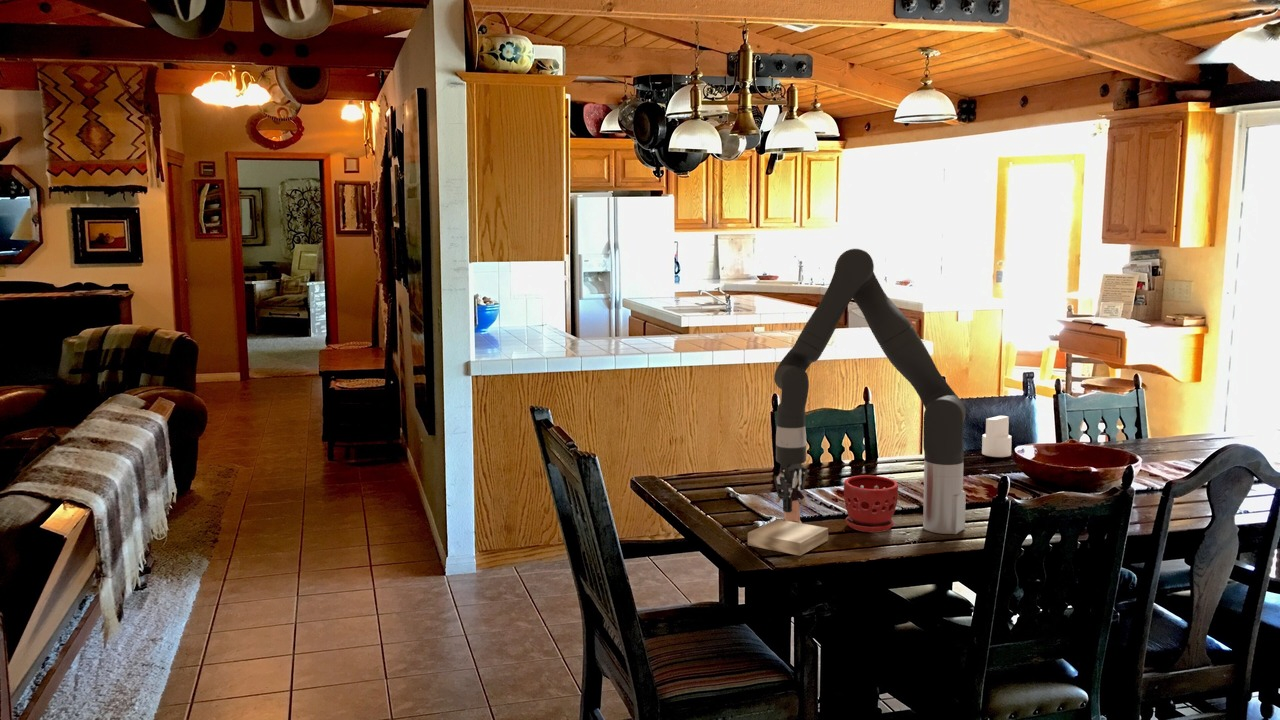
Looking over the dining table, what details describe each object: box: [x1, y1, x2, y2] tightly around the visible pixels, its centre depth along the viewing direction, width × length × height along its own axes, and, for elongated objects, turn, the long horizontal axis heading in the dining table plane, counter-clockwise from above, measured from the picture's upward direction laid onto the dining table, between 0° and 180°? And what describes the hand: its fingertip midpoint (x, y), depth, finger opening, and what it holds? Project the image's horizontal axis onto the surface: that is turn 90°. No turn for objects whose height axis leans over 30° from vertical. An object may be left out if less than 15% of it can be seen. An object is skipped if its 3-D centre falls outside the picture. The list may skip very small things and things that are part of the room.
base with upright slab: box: [981, 415, 1012, 458], centre depth 333 cm, size 9×9×12 cm
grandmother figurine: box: [775, 477, 808, 524], centre depth 258 cm, size 8×4×13 cm, turn 84°
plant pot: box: [843, 474, 899, 533], centre depth 254 cm, size 13×13×12 cm
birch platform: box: [747, 518, 829, 557], centre depth 244 cm, size 14×14×3 cm
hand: (790, 509), depth 259 cm, fingers closed on grandmother figurine, 3 cm apart
